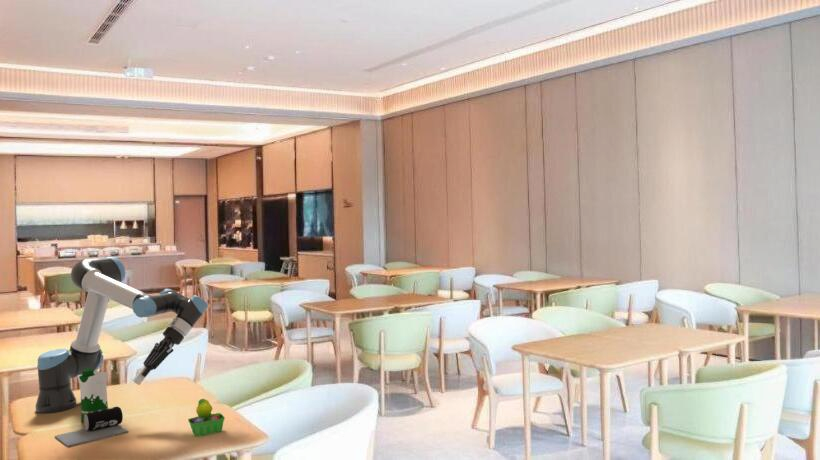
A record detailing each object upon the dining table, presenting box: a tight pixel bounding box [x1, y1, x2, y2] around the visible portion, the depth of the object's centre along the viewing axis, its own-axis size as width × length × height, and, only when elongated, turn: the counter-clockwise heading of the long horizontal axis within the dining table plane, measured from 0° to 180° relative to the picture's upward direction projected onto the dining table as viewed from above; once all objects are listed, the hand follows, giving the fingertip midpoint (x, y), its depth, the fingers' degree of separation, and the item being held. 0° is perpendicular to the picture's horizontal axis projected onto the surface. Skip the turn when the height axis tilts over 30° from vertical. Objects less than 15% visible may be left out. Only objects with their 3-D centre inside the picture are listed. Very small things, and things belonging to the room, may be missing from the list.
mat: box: [54, 424, 129, 448], centre depth 244 cm, size 16×20×1 cm
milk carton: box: [76, 369, 109, 424], centre depth 262 cm, size 9×9×20 cm
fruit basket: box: [187, 398, 226, 437], centre depth 240 cm, size 11×9×11 cm
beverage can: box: [83, 406, 124, 431], centre depth 250 cm, size 7×7×12 cm
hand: (135, 382), depth 255 cm, fingers closed
